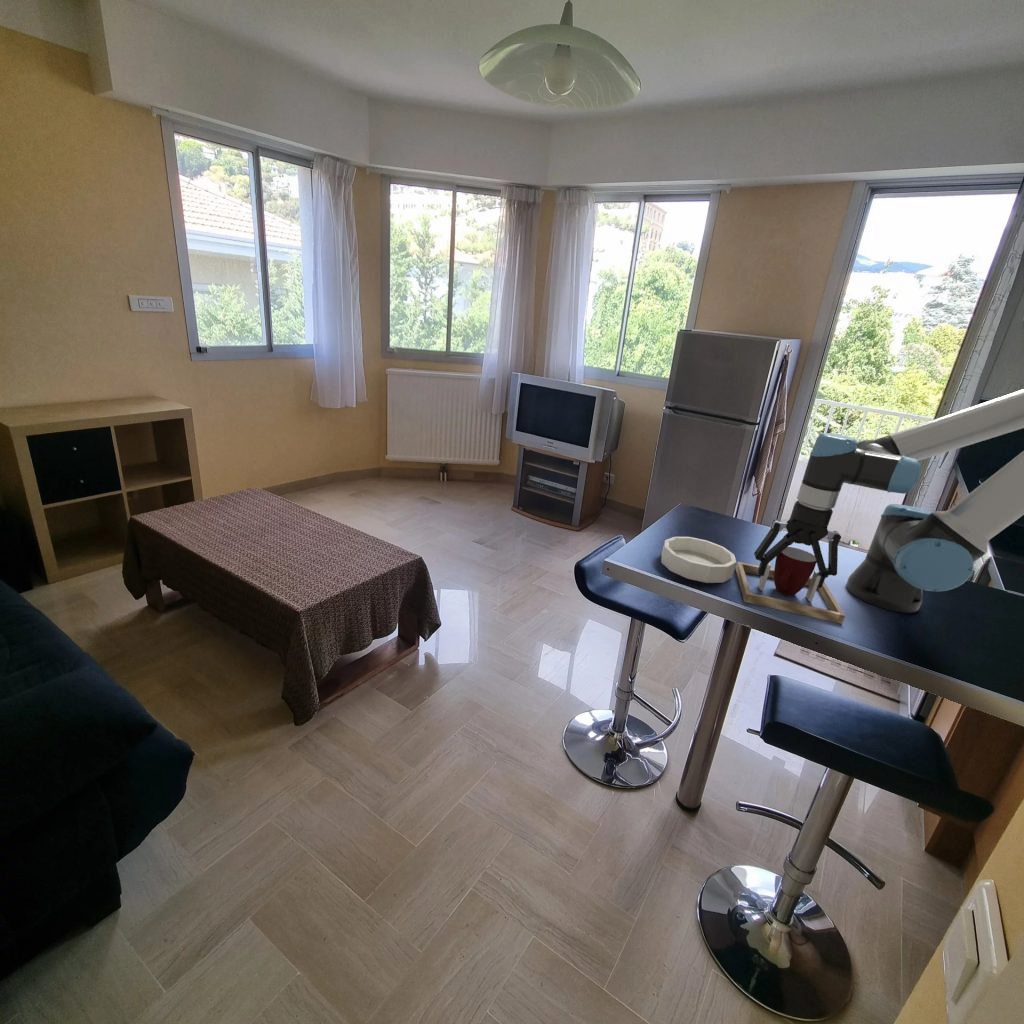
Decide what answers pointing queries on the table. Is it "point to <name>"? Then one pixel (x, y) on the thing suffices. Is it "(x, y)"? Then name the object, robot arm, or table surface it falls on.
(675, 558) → the bowl
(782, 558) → the mug
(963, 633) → the table surface
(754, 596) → the frame tray
